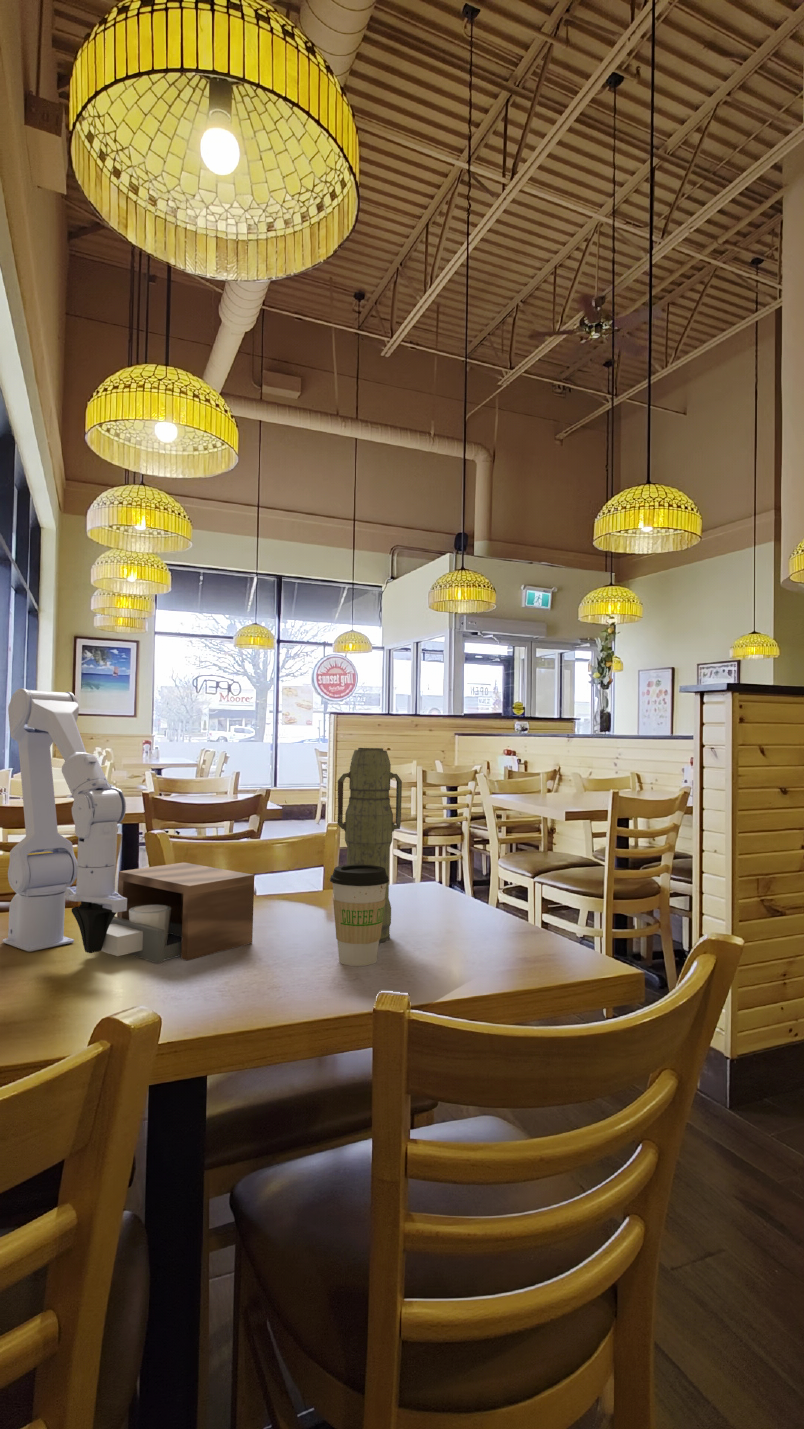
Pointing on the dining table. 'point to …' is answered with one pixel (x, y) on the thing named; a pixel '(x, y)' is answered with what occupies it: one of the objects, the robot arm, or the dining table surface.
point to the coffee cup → (358, 911)
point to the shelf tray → (141, 940)
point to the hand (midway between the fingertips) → (93, 951)
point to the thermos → (370, 815)
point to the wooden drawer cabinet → (196, 903)
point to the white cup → (152, 916)
